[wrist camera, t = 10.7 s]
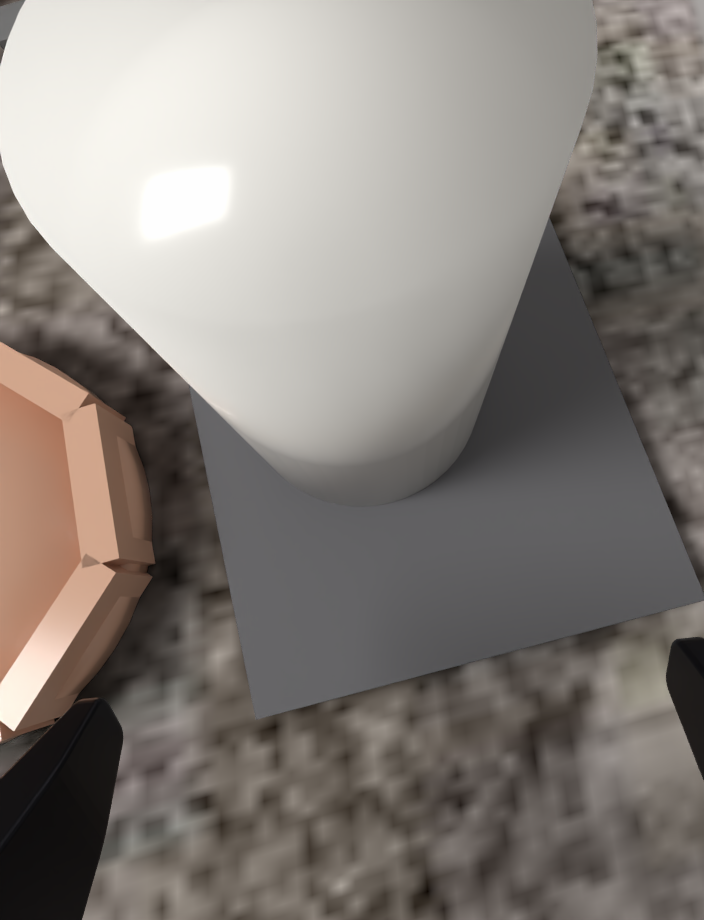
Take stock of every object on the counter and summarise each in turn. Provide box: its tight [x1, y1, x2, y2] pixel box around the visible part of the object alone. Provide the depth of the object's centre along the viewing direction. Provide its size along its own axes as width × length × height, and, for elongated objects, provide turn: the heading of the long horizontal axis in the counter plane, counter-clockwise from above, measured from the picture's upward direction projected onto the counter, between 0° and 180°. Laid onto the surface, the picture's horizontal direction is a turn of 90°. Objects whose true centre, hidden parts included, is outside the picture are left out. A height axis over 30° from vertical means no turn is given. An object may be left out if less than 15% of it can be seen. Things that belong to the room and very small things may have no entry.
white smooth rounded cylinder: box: [0, 0, 598, 507], centre depth 12 cm, size 7×7×11 cm
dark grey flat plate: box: [189, 218, 704, 719], centre depth 17 cm, size 16×12×1 cm
